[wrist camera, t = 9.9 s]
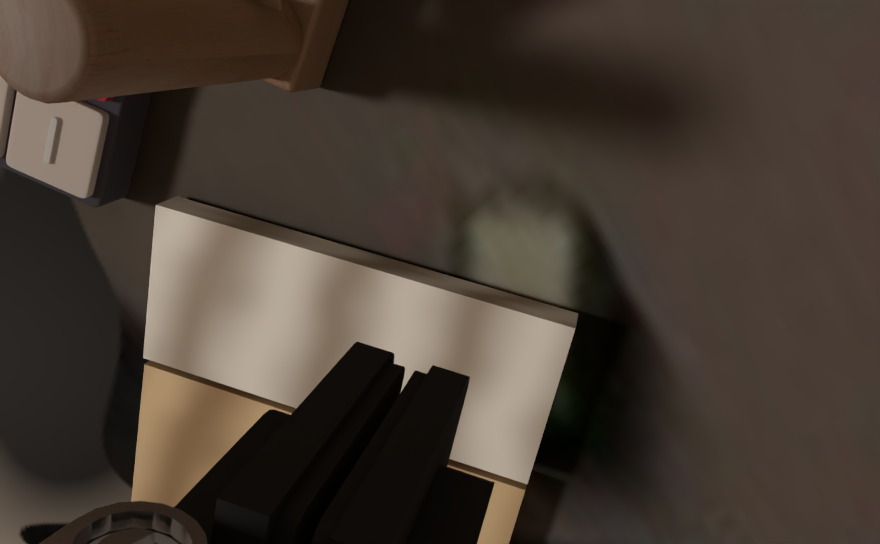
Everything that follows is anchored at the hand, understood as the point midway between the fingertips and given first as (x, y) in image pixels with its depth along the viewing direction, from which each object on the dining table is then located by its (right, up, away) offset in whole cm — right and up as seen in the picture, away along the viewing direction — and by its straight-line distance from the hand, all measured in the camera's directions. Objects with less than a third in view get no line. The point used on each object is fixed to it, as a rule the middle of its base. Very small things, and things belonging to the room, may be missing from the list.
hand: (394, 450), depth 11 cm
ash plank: (-4, -1, +30) cm, 30 cm away
